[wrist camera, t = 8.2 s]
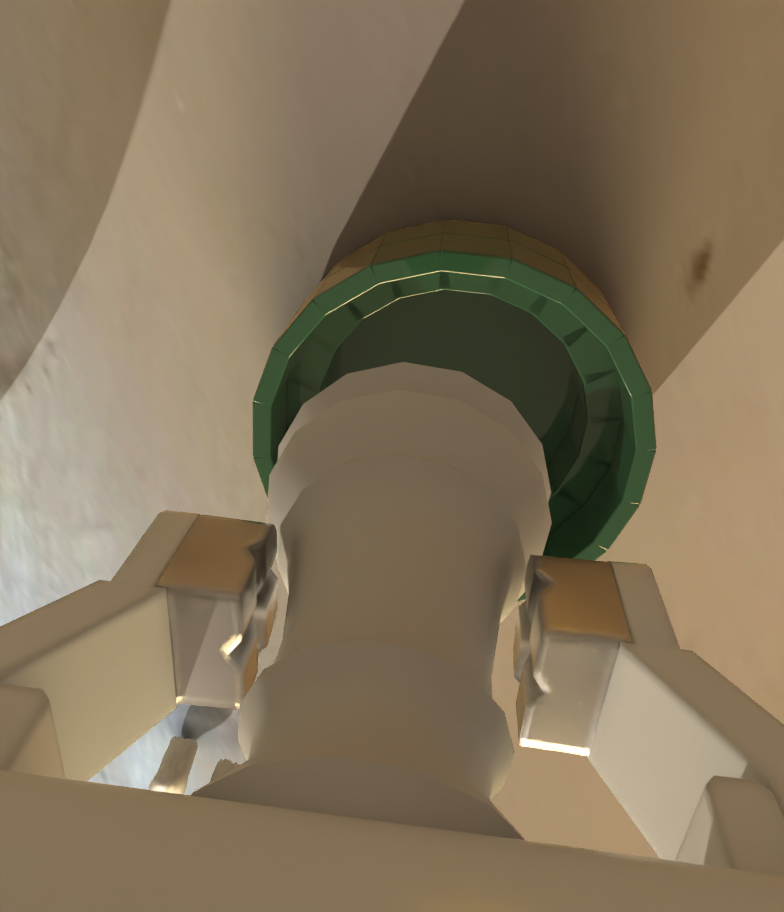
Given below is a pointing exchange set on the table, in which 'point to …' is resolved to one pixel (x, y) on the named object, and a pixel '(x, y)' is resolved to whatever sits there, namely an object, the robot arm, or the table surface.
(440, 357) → the bowl
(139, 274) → the table surface
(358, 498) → the rook chess piece
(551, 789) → the table surface
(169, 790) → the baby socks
